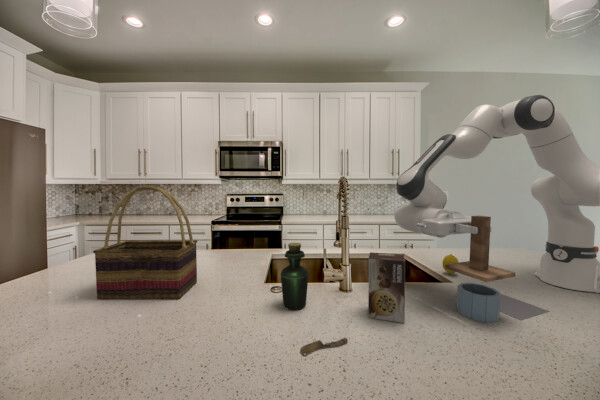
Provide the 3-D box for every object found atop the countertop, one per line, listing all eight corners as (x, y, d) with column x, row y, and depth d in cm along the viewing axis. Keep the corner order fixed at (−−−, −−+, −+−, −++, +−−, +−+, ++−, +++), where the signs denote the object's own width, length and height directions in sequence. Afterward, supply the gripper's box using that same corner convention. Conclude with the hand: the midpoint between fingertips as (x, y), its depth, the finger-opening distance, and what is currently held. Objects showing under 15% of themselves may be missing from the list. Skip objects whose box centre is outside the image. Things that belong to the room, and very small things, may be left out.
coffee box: (403, 312, 69) (404, 254, 68) (404, 324, 63) (406, 260, 62) (369, 306, 72) (369, 251, 71) (367, 317, 66) (368, 257, 65)
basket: (92, 300, 76) (87, 185, 74) (126, 282, 90) (122, 185, 89) (180, 300, 76) (177, 185, 74) (199, 282, 91) (197, 185, 89)
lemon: (461, 277, 95) (461, 256, 95) (445, 276, 97) (445, 255, 96) (455, 272, 101) (455, 252, 100) (440, 271, 102) (440, 252, 102)
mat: (497, 294, 81) (497, 292, 81) (549, 313, 68) (550, 311, 68) (470, 300, 76) (470, 299, 76) (520, 322, 64) (520, 320, 64)
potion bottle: (292, 296, 79) (291, 239, 78) (314, 303, 74) (314, 243, 73) (274, 306, 72) (274, 244, 71) (297, 315, 67) (297, 249, 66)
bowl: (471, 304, 73) (472, 281, 73) (507, 320, 65) (509, 293, 64) (449, 309, 70) (450, 285, 70) (484, 327, 61) (485, 299, 61)
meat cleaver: (294, 344, 56) (296, 361, 51) (294, 339, 55) (296, 355, 51) (345, 339, 57) (353, 354, 52) (345, 334, 57) (352, 349, 52)
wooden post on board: (472, 264, 74) (474, 213, 73) (515, 276, 64) (518, 217, 63) (445, 268, 70) (447, 214, 69) (486, 282, 60) (489, 219, 59)
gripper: (412, 213, 74) (456, 219, 61) (460, 211, 82) (508, 216, 69) (411, 235, 75) (455, 245, 62) (459, 230, 82) (507, 239, 69)
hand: (484, 230), depth 65 cm, fingers closed on wooden post on board, 3 cm apart
